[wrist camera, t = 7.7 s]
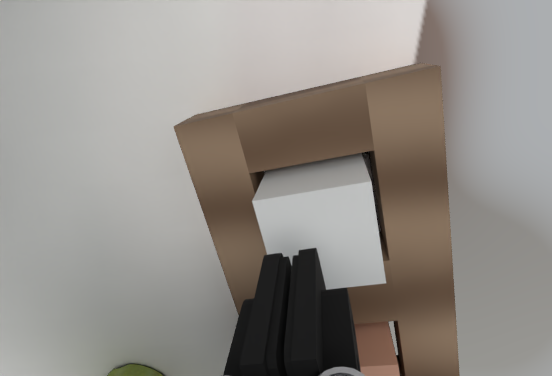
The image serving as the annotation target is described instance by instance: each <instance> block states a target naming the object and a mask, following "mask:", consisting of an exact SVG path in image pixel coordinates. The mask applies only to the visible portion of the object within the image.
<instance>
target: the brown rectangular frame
mask: <svg viewBox="0 0 552 376" xmlns="http://www.w3.org/2000/svg"><path fill="white" fill-rule="evenodd" d="M174 130H175V132H176V135H177V138H178V141H179V144H180V147H181V150H182V153H183V156H184V158H185V161H186V164H187V167H188V170H189V173H190V176H191V179H192V182H193V184H194V187H195V190H196V193H197V196H198V199H199V202H200V205H201V208H202V210H203V213H204V216H205V219H206V222H207V225H208V228H209V231H210V234H211V236H212V239H213V242H214V245H215V248H216V251H217V254H218V257H219V260H220V262H221V265H222V268H223V271H224V274H225V277H226V280H227V283H228V286H229V289H230V291H231V294H232V297H233V300H234V303H235V306H236V309H237V312H238V315H239V314H240V310H241V307H242V304H243V301H244V300H245V299H253V298H254V297H255V292H256V288H257V283H258V279H259V275H260V270H261V266H262V261H263V257H264V255H267V252H266V248H265V245H264V241H263V238H262V234H261V231H260V227H259V224H258V220H257V217H256V213H255V210H254V206H253V203H252V200H253V198H254V196H255V194H256V192H257V190H258V187H259V185H260V183H261V181H262V179H263V177H264V171H265V170H271V169H276V168H282V167H287V166H292V165H298V164H303V163H308V162H314V161H319V160H325V159H330V158H335V157H341V156H346V155H352V154H357V153H362V152H368V151H369V154H370V161H371V168H372V175H373V182H374V189H375V196H376V203H377V210H378V216H379V223H380V230H381V232H379V237H380V244H381V251H382V257H383V264H384V271H385V278H386V283H384V284H375V285H365V286H356V287H347V289H348V294H349V299H350V304H351V309H352V314H353V320H354V324H362V323H374V322H386V321H394V327H395V335H396V341H397V348H398V355H396V357H397V362H398V367H399V373H400V376H459V361H458V345H457V330H456V329H457V328H456V312H455V296H454V279H453V265H452V264H453V263H452V249H451V248H452V247H451V230H450V214H449V199H448V182H447V167H446V166H447V165H446V151H445V150H446V149H445V135H444V134H445V133H444V117H443V100H442V84H441V69H440V66H437V65H431V64H425V63H418V64H414V65H410V66H405V67H401V68H397V69H392V70H388V71H384V72H379V73H375V74H371V75H366V76H362V77H358V78H353V79H349V80H345V81H340V82H336V83H332V84H327V85H323V86H319V87H314V88H310V89H306V90H301V91H297V92H293V93H288V94H284V95H280V96H275V97H271V98H267V99H262V100H258V101H254V102H249V103H245V104H241V105H236V106H232V107H228V108H223V109H219V110H215V111H210V112H206V113H202V114H197V115H194V116H192V117H191V118H189V119H187V120H185V121H183V122H181V123H179V124H177V125H176V126H174ZM328 290H329V289H328Z"/></svg>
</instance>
